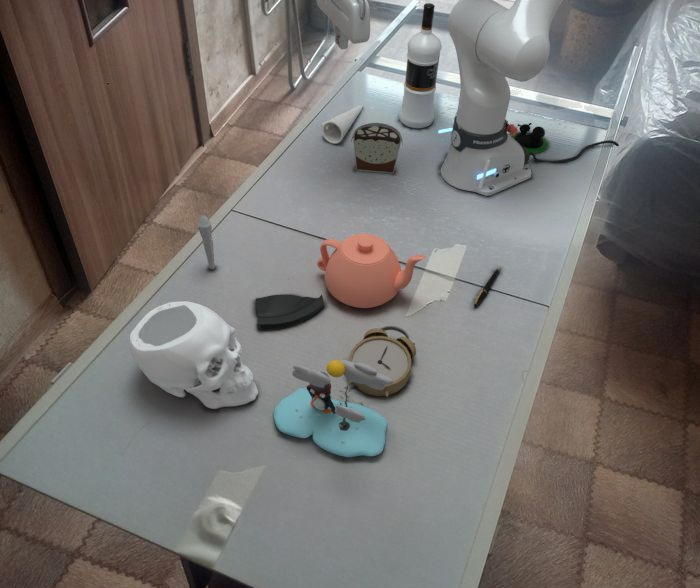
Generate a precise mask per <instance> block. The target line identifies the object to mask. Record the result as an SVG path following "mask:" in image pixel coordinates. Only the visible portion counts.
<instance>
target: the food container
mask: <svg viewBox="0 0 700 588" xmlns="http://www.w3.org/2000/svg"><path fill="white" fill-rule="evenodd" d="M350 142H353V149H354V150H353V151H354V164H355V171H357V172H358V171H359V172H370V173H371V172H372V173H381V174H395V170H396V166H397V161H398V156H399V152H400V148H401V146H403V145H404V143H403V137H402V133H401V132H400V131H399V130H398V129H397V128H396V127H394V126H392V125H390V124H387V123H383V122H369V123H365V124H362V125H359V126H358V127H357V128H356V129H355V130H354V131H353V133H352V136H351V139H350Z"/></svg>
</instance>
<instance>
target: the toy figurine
mask: <svg viewBox="0 0 700 588" xmlns="http://www.w3.org/2000/svg"><path fill="white" fill-rule="evenodd" d="M532 124H533V123H532V122H529V123H528V124H527V123H523V124H519V123H518V124H516V127H519V128H518V131H519V132H517V133H516V134H515V135H514V136H512V135H510V136H511V137H512V138H513V139H515V140H516V141H517V142H518V143H519V144H521V145H522V147H523V148H524V149H525V150H526V151H527V152H530V153H534V154H537V153H542V152H544V151H545V150H547V149H548V145H549V144H548V141H547V140H546V139H545V138H544V136H545V135H546V131H545V129H544V127H542V126H538V125H537V126H535V127H533V129H532V131H531V125H532Z"/></svg>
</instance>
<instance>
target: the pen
mask: <svg viewBox="0 0 700 588" xmlns="http://www.w3.org/2000/svg"><path fill="white" fill-rule="evenodd" d="M197 227H198V228H197V229H198V231H199V235H200V237H201V239H202V244H203V248H204V251H205V256H206V259H207V260H206V261H207V264H208V267H209V269H210V270H214V269H215V268H216V264H215V253H214V252H215V251H214V240H213V235H212V231H213V230H212V222H211V220H210V219H209V218H208V217H207V216H206V215H205V214H202V215H201V216H200V217H199V219H198V221H197Z"/></svg>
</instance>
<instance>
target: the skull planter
mask: <svg viewBox="0 0 700 588" xmlns="http://www.w3.org/2000/svg"><path fill="white" fill-rule="evenodd" d="M235 334H236V329H235V328H234V327H233V326H231V325H229V324H228V323H227V322H226V321H225V320H224V319H223V317H221V316H220V315H219V314H217V313H216V312H215V311H214V310H212V309H210V308H209V307H207V306H205V305H202V304H200V303H197V302H192V301H185V300H184V301H182V300H181V301H171V302H167V303H164V304H162V305H159V306H157V307H155V308H153V309H151V310H150V311H148V312H147V313H146V314H145V315H144V317H143V318H141V320H139V322H138V323H137V324H136V326H135V327H134V328H133V329H132V331H131V332H130V335H129V351H130V355H131V357H132V358H133V360H134V362H135V364H136V365H137V366H138V368H139V369H140V370H141V372H142V373H143V374H144V375H145V376H146V378H147V379H148V380H149V382H151V383H153V384H154V385H156V386H157V387H159V388H160V389H162V390H163V391H165V392H166V393H168V394H171V395H173V396H175V397H176V398H185V396H186V395H187V394H186V393H190V394H191V395H193V396H194V397H196V398H197V399H199V401H200V402H201V403H202V404H203V405H204V406H205V407H206V408H207V409H211V410H217V409H220V408H224V407H225V408H227V407H238V406H242V405H246V404H248V403H250V402H253V401H255V400H256V398H257V396H258V395H259V390H258V387H257V385H256V382H255V381H254V379H255V376H254V374H253V371H252V370H251V369H250V367H248V366H247V365H245V364H244V363H243V362H242V356H243V354H244V353H243V352H244V351H243V347H242V345H241V343H240V342H239V341H238V340H237V338H236V335H235ZM215 367H216V369H215V370H214V369H213V368H215ZM200 382H201V384H199V383H200ZM198 384H199V385H198ZM196 385H197V386H196ZM218 389H219V391H216V390H218ZM185 391H186V392H185ZM214 391H216V392H214Z"/></svg>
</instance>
